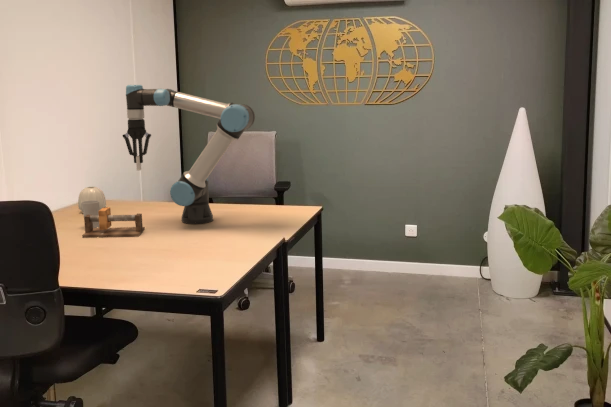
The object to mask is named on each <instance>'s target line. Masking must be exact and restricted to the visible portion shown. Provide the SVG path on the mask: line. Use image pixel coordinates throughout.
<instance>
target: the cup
mask: <svg viewBox="0 0 611 407" xmlns="http://www.w3.org/2000/svg"><path fill="white" fill-rule="evenodd" d="M81 204H82V209H83V212H82V214H83V218H84V217H85V216H86V215H92V216H93V215H99V214H98V211H99V201H96V200H91V201H83V202H81ZM97 227H98V228H99V222H93V228H97Z"/></svg>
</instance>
